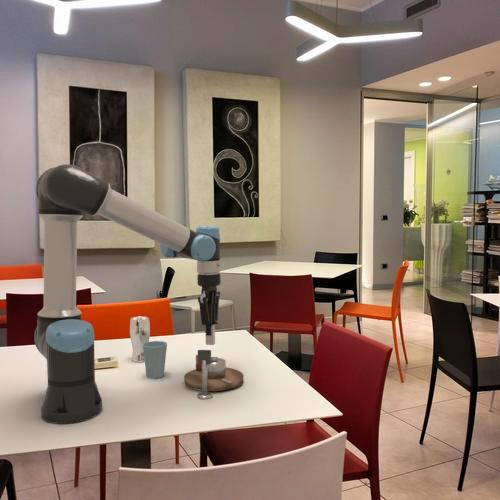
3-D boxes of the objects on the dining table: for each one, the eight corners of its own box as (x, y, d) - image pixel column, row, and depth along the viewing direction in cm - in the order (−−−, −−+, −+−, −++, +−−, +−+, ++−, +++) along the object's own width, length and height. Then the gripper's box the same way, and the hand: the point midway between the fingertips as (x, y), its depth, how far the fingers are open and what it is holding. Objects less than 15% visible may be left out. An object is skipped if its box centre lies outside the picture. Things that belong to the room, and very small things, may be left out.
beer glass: (152, 361, 181) (151, 319, 180) (132, 363, 179) (131, 320, 178) (148, 356, 188) (147, 315, 187) (129, 358, 185) (128, 317, 184)
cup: (170, 377, 163) (169, 345, 163) (146, 380, 160) (145, 347, 160) (164, 371, 170) (163, 339, 170) (141, 374, 167) (140, 342, 167)
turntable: (207, 395, 145) (206, 373, 145) (172, 379, 159) (172, 359, 159) (255, 381, 157) (255, 361, 157) (219, 368, 171) (219, 349, 170)
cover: (211, 380, 153) (211, 362, 153) (198, 375, 158) (198, 357, 158) (230, 376, 158) (230, 358, 157) (216, 370, 163) (216, 353, 163)
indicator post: (210, 399, 144) (210, 352, 143) (195, 399, 144) (194, 352, 143) (214, 394, 148) (213, 348, 147) (199, 393, 149) (198, 348, 148)
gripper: (211, 276, 161) (212, 350, 163) (227, 271, 173) (228, 340, 175) (189, 275, 164) (191, 348, 166) (206, 270, 176) (208, 338, 178)
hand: (210, 344), depth 170 cm, fingers closed
